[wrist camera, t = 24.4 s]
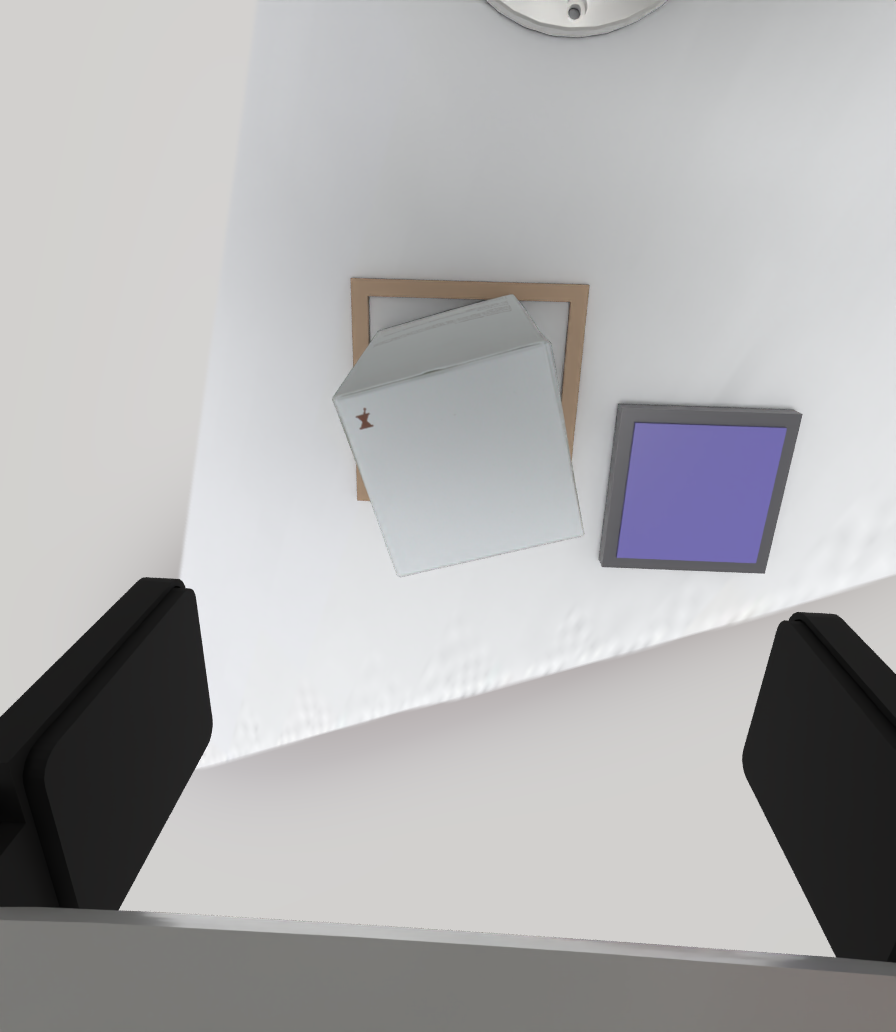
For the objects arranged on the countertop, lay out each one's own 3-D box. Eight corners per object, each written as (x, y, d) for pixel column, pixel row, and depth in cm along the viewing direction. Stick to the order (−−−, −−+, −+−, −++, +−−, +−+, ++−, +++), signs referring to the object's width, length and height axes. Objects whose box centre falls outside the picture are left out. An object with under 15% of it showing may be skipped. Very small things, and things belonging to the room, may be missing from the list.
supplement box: (414, 462, 35) (389, 584, 24) (374, 328, 32) (323, 392, 21) (547, 431, 34) (589, 542, 23) (519, 289, 31) (550, 334, 20)
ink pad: (618, 403, 33) (623, 409, 32) (793, 409, 33) (804, 415, 32) (598, 558, 37) (602, 568, 36) (757, 565, 37) (766, 575, 35)
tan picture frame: (352, 277, 32) (350, 278, 31) (588, 284, 31) (589, 284, 31) (358, 497, 36) (357, 500, 36) (565, 505, 36) (566, 508, 35)
